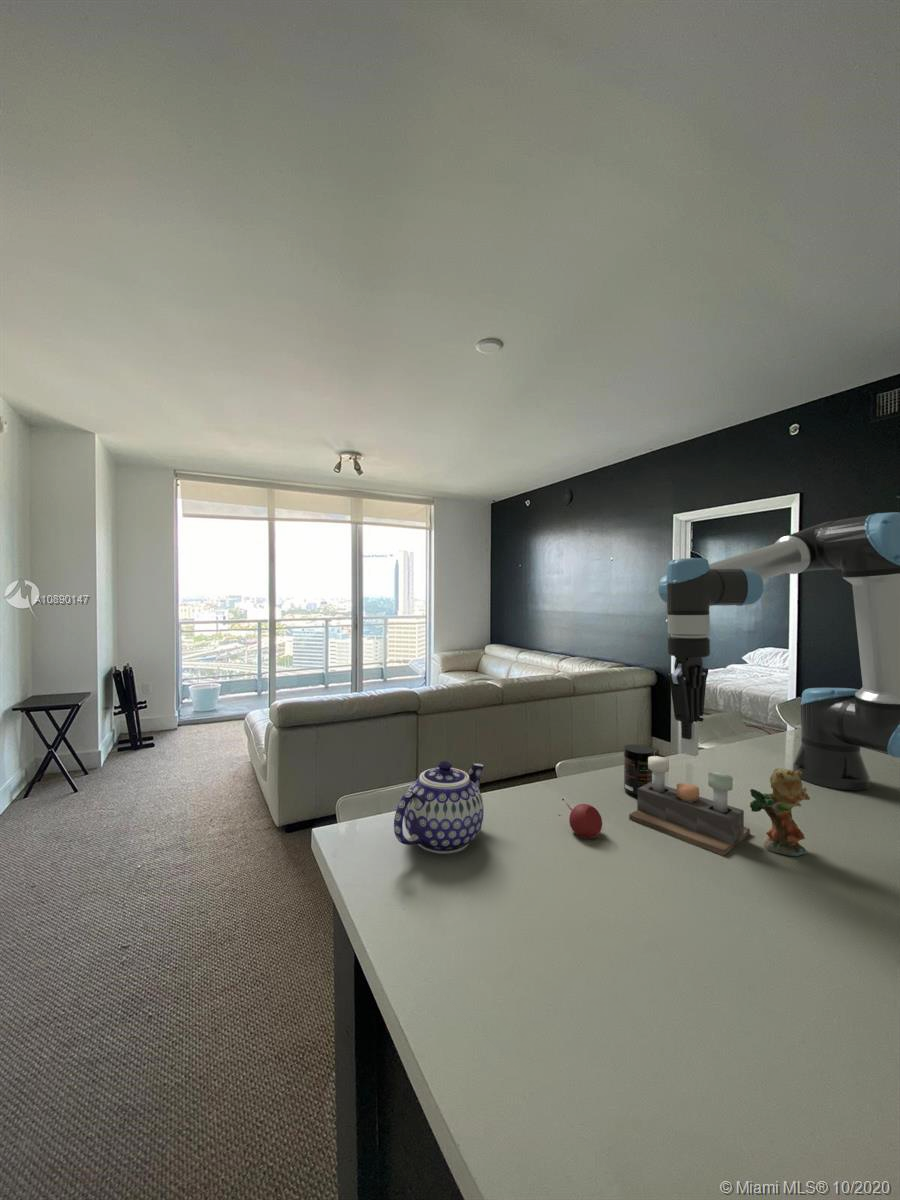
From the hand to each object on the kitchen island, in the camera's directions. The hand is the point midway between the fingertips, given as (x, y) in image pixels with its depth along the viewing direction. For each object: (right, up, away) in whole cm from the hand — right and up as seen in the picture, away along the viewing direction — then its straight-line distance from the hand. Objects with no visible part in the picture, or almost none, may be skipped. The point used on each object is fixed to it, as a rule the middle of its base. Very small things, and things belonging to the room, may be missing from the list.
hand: (689, 753), depth 94 cm
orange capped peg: (0, -13, 0) cm, 13 cm away
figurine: (+12, -15, -8) cm, 21 cm away
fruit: (-23, -15, -2) cm, 27 cm away
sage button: (+3, -9, -5) cm, 11 cm away
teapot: (-49, -15, -6) cm, 52 cm away
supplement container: (-4, -15, +16) cm, 22 cm away
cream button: (-4, -9, +4) cm, 11 cm away
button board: (0, -15, 0) cm, 14 cm away
